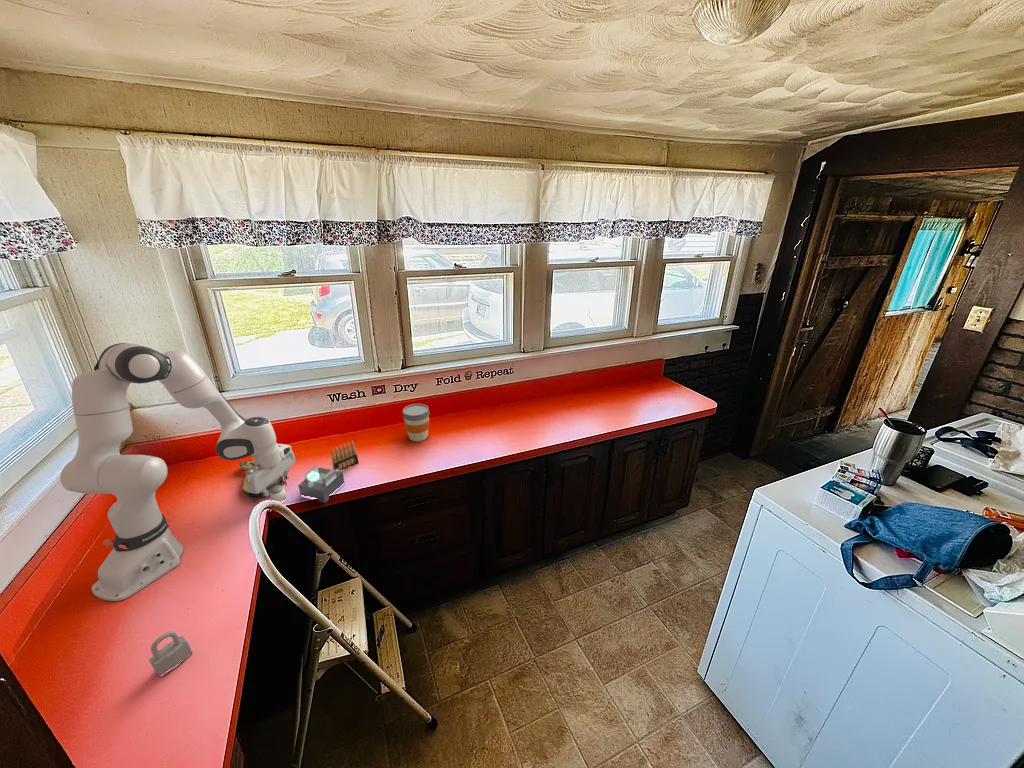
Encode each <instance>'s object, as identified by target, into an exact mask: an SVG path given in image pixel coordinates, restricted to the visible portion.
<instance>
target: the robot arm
mask: <svg viewBox="0 0 1024 768" xmlns="http://www.w3.org/2000/svg"><path fill="white" fill-rule="evenodd" d="M157 381H158V382H159V383H161V384H162V386H163V387H164V388H165V389H166V390H167V392H168V393H169V394H170V396H171V397H172V399H174V400H175V402H177V403H178V404H179V405H180V406H182V407H183V408H186V409H191V410H193V409H200V408H205V409H206V410H208V412H209V413H210V414H211V415H212V416H213V418H215V420H216V421H217V422H218V423H219V424H220V428H221V430H220V435H219V437H218V440H217V443H216V446H215V453H216V454H217V456H218V457H220V458H221V459H223V460H225V461H231V462H232V461H238V460H241V459H244V458H247V457H250V456H252V459H253V460H252V461H254V463H255V467H254V468H253V469H252V470H250V471H249V472H248V474H247V476H246V483H247V488H248V491H249V492H250V493H254V494H259V493H260V492H263V494H264V496H263V497H269V496H270V494H271V493H270V490H266V487H267V486H268V485H269V484H271V483H272V482H273V481H274V480H275V479H276V478H278V477H279V476H280V475H281V477H282V480H283V481H286V482H287V480H288V479H289V471H290V468H291V467H292V466H293V465H294V464H295V462H296V458H295V453H294V451H293V450H292V446H291V445H289V444H284V443H278V442H277V436H276V432H275V430H274V427H273V425H272V423H271V422H270V421H269V420H270V419H267V418H266V417H262V416H254V417H249V418H245V417H243V416H241V415H240V413H238V412H237V411H236V410H235V408H234V407H233V406H232V405H231V404H230V403H229V401H228V400H227V398H226V397H225V396H224V395H223V394H222V393H221V392H220V391H219V390H218V389H217V388H216V387H215V385H214V383H213V382H212V381H211V379H210V378H209V376H208V375H207V374H206V373H205V371H204V370H203V369H202V367H201V366H200V365H199V364H198V363H197V362H196V360H195V359H194V358H193V357H191V356H190V355H189V354H188V353H187V352H185V351H182V350H169V351H166V352H163V353H162V352H159V351H158V350H156V349H153V348H150V347H148V346H144V345H140V344H138V343H127V342H120V343H119V342H118V343H115V344H112V345H109V346H108V347H107V348H105V349H104V350H103V351H102V352H101V354H100V356H99V358H98V360H97V361H96V364H95V365H94V368H93V370H89V371H86V372H83V373H80V374H78V375H76V376H75V377H74V378H73V380H72V382H71V402H72V403H71V404H72V410H73V416H74V419H75V420H74V421H75V425H76V431H77V436H78V437H77V438H78V444H77V450H76V453H75V455H74V457H73V458H72V459H71V460H70V461H69V462H67V464H66V465H64V467H63V468H62V470H61V472H60V477H59V479H60V484H61V486H62V487H63V488H64V489H65V490H67V491H69V492H74V493H78V494H82V495H83V494H85V495H100V494H101V495H105V494H107V495H108V494H111V495H113V496H115V498H116V500H117V501H115V502H114V503H113V504H112V505H111V506H110V508H109V509H108V511H107V519H108V520H109V522H110V525H111V527H112V529H113V531H114V533H115V534H114V540H113V539H110V538H106V539H104V540H103V541H102V545H103V547H107V548H111V547H113V548H112V549H111V551H110V553H109V554H108V555H107V556H106V558H105V559H104V561H103V562H102V563H101V565H100V566H99V567H98V569H97V579H98V580H97V581H95V583H93V584H92V586H91V592H92V594H93V595H94V596H95V597H96V598H98V599H100V600H102V601H103V600H104V601H110V602H111V601H112V602H119V601H123V600H126V599H128V598H130V597H131V596H133V595H134V594H136V593H137V592H139V591H140V590H142V589H144V588H145V587H147V586H149V585H150V584H151V583H153V582H155V581H156V580H158V579H159V578H161V577H162V576H163V575H165V574H166V573H169V572H170V571H172V570H173V569H174V568H176V567H178V566H179V565H180V563H181V556H182V554H183V552H184V545H183V543H181V542H180V541H178V539H177V538H176V537H175V535H173V534H172V531H171V530H170V528H169V527H170V526H169V522H168V520H167V519H166V517H165V515H164V514H163V513H162V512H161V510H160V508H159V504H158V502H157V499H156V498H157V497H156V493H157V492H156V491H157V490H158V489H159V488H160V487H161V486H162V484H163V483H164V482H165V480H166V479H167V476H168V465H167V464H166V462H165V461H164V459H162V458H160V457H157V456H153V455H146V454H121V453H120V445H121V443H122V442H124V441H126V440H127V439H129V437H131V436H132V434H133V432H134V427H133V421H132V417H131V412H130V407H129V406H130V405H129V402H128V401H129V400H128V397H127V396H128V395H127V391H128V388H129V387H130V385H131V383H132V384H139V385H141V384H147V383H153V382H157Z"/></svg>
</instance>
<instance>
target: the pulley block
mask: <svg viewBox="0 0 1024 768" xmlns="http://www.w3.org/2000/svg"><path fill="white" fill-rule="evenodd" d="M254 467H255V463H254V460H245V461H241V462H239V468H240V469H242V470H244V471H246V472H245V475H244V479H243V482H242V484H241V485H242V486H241V488H242V492H244V494H245V495H246V497H249V498H250V499H251V500H252V502H253V503H256V502H255V500H254V499H261V498H262V497H265V496H264V494H263V492H260V493H259V494H254V493H250V492H249V491H248V488H247V483H246V476H247V474H248V472H249V471H250V470H252V469H253V468H254ZM281 476H282V474H281V475H280V476H279V477H278V478H276V479H275V480H274V481H273V482H272V483H271V484H269V485H268V486H267V487H266V490H270V489H271V488H272V487H274V486H276V485H282V486H283V485H285V486H288V485H287V484H288V483H287V480H286V481H285V480H282V477H281Z"/></svg>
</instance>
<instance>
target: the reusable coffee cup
mask: <svg viewBox="0 0 1024 768" xmlns="http://www.w3.org/2000/svg"><path fill="white" fill-rule="evenodd" d="M430 413H431V412H430V409H429V406H428V405H426V404H423V403H413V404H409V405H407V406H405V407H404V408H403V409H402V418H403V420H404V421H403V422H404V426H405V430H406V432H407V433H408V438H409V440H411V441H412V442H422V441H424V440H427V438H428V436H429V427H430V417H429V416H430Z"/></svg>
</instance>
